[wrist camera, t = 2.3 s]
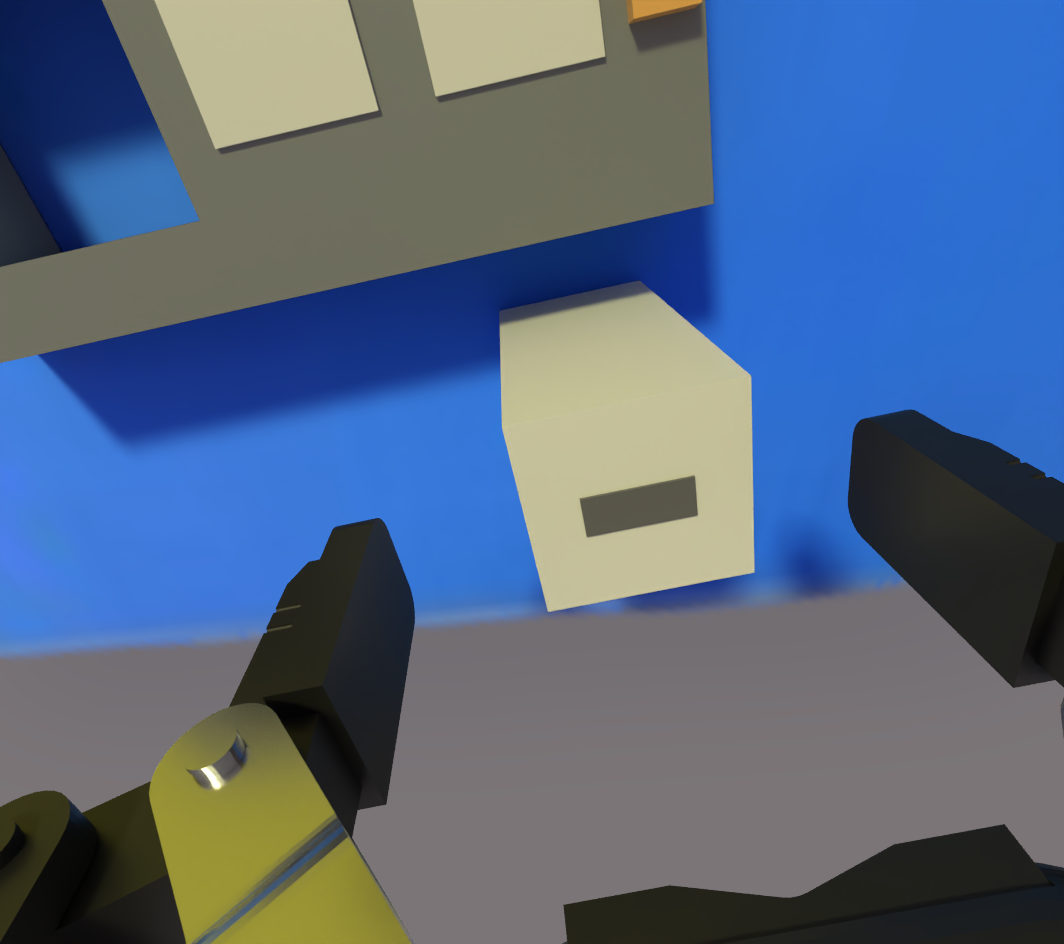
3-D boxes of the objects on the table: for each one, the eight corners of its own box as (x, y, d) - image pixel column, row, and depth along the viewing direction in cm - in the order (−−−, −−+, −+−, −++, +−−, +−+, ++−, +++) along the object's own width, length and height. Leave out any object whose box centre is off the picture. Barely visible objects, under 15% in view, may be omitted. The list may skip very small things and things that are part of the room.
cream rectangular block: (639, 280, 16) (752, 376, 9) (653, 410, 18) (755, 573, 11) (499, 310, 16) (502, 429, 9) (527, 436, 18) (548, 613, 11)
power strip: (628, -332, 11) (692, -567, 7) (669, 193, 15) (721, 204, 12) (-257, -94, 12) (-578, -201, 8) (22, 339, 16) (-111, 390, 12)
